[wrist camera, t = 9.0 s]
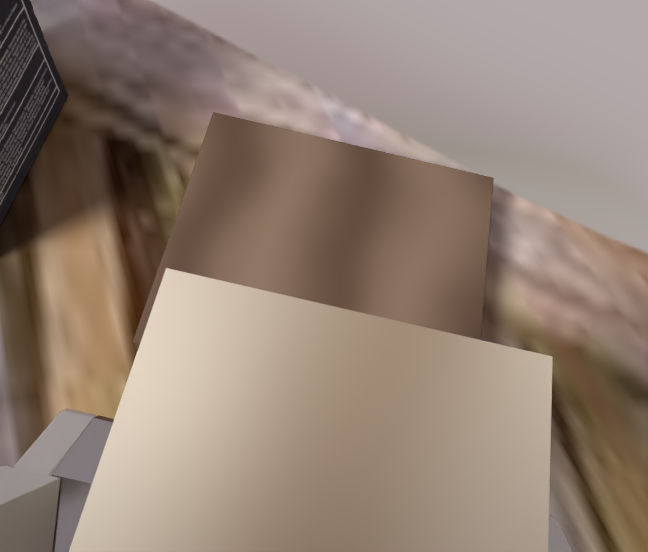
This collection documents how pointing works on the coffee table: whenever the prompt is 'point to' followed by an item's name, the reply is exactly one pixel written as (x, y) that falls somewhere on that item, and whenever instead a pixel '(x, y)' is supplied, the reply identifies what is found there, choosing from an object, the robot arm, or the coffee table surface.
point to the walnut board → (333, 226)
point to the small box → (24, 95)
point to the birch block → (318, 434)
